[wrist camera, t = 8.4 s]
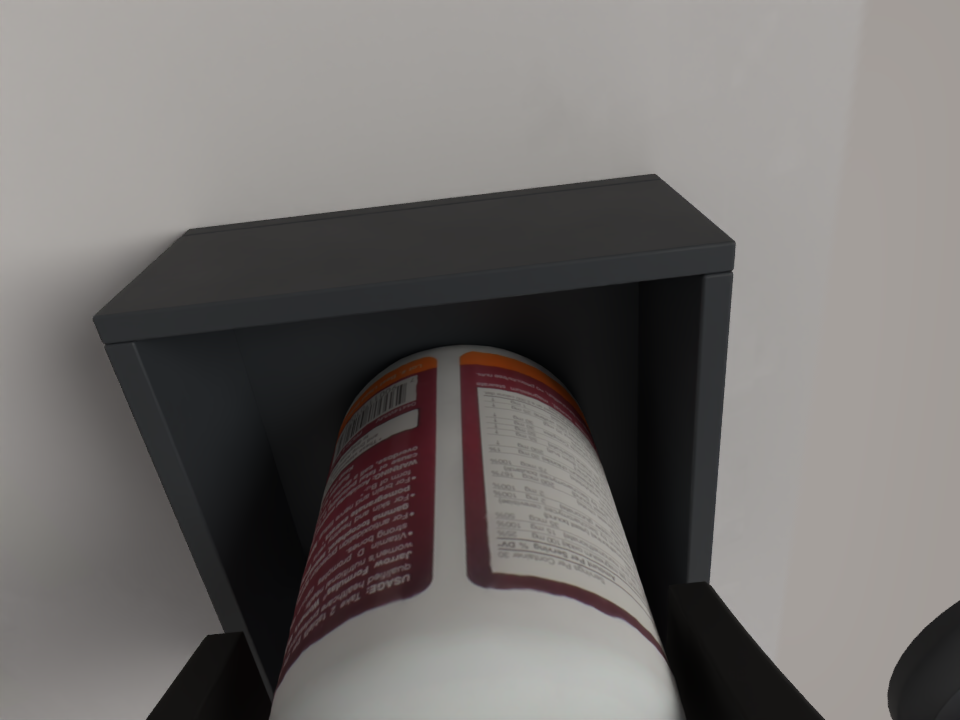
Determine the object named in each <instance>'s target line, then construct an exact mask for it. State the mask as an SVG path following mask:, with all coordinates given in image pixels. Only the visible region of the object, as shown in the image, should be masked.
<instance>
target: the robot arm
mask: <svg viewBox="0 0 960 720" xmlns="http://www.w3.org/2000/svg"><path fill="white" fill-rule="evenodd" d="M666 656H667V659H668V662H669V665H670V668H671V670H672V673H673V675H674V677H675V680H676V684H677V688H678V691H679V695H680V699H681V702H682V706H683V709H684V712H685V716H686V720H825V719H824V718H823V717H822V716H821V715H820V714H819V713H818V712H817V711H816V709H815V708H814V707H813V706H812V705H811V704H810V703H809V702H808V701H807V700H806V699H805V698H804V696H803V695H802V694H801V693H800V692H799V691H798V690H797V689H796V688H795V686H794V685H793V684H792V683H791V682H790V681H789V680H788V679H787V678H786V677H785V676H784V674H782V672H781V671H780V670H779V669H778V668H777V666H776V665H775V664H774V663H773V662H772V661H771V660H770V658H769V657H768V656H767V655H766V654H765V653H764V651H763V650H762V649H761V648H760V647H759V645H758V644H757V643H756V642H755V641H754V639H753V638H752V637H751V636H750V635H749V633H748V632H747V631H746V630H745V629H744V627H743V626H742V625H741V624H740V622H739V621H738V620H737V619H736V617H735V616H734V615H733V614H732V612H731V611H730V610H729V609H728V607H727V606H726V605H725V603H724V602H723V601H722V599H721V598H720V597H719V596H718V594H717V593H716V592H715V590H714V589H713V588H712V586H711V585H709V584H708V583H707V582H705V581H703V582H694V583H684V584H675V585H669V590H668V615H667V639H666ZM271 707H272V703H271V700H270V698H269V695H268V693H267V690H266V688H265V685H264V683H263V680H262V678H261V675H260V673H259V670H258V667H257V665H256V662H255V660H254V657H253V655H252V652H251V650H250V647H249V645H248V642H247V640H246V637H245V635H244V632H243V631H241V632H232V633H223V634H213V635H207V636H206V638H205V639H204V640H203V641H202V642H201V644H200V645H199V647H198V648H197V649H196V651H195V652H194V654H193V655H192V656H191V658H190V659H189V660H188V662H187V663H186V665H185V666H184V667H183V669H182V670H181V672H180V673H179V674H178V676H177V677H176V679H175V680H174V681H173V683H172V684H171V686H170V687H169V688H168V690H167V691H166V693H165V694H164V695H163V697H162V698H161V700H160V701H159V702H158V704H157V705H156V706H155V708H154V709H153V711H152V712H151V713H150V715H149V716H148V717H147V719H146V720H269V716H270V713H271Z"/></svg>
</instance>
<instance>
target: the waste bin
mask: <svg viewBox="0 0 960 720" xmlns="http://www.w3.org/2000/svg"><path fill="white" fill-rule="evenodd" d="M735 246H736V243H735V241H734V240H733V239H732V238H730V237H729V236H728V235H727V234H726V233H725V232H723V231H722V230H721V229H720V228H719V227H717V226H716V225H715V224H714V223H713V222H712V221H710V220H709V219H708V218H707V217H706V216H705V215H703V214H702V213H701V212H700V211H699V210H697V209H696V208H695V207H694V206H693V205H692V204H690V203H689V202H688V201H687V200H686V199H685V198H683V197H682V196H681V195H680V194H679V193H678V192H676V191H675V190H674V189H673V188H672V187H670V186H669V185H668V184H667V183H666V182H665V181H663V180H662V179H661V178H660V177H659V176H657V175H656V174H650V175H642V176H633V177H625V178H616V179H608V180H599V181H591V182H583V183H574V184H566V185H557V186H549V187H541V188H532V189H524V190H515V191H507V192H499V193H490V194H482V195H473V196H465V197H457V198H448V199H440V200H431V201H423V202H415V203H406V204H398V205H389V206H381V207H372V208H364V209H356V210H347V211H339V212H330V213H322V214H314V215H305V216H297V217H288V218H280V219H272V220H263V221H255V222H246V223H238V224H230V225H221V226H213V227H204V228H196V229H189V230H188V231H187V232H186V233H185V234H183V235H182V237H180V238H179V239H178V240H177V241H176V242H175V243H173V244H172V245H171V246H170V247H169V248H168V249H167V250H166V251H165V252H164V253H162V254H161V255H160V256H159V257H158V258H157V259H156V260H155V261H154V262H153V263H151V264H150V265H149V266H148V267H147V268H146V269H145V270H144V271H143V272H142V273H141V274H139V275H138V276H137V277H136V278H135V279H134V280H133V281H132V282H131V283H130V284H128V285H127V286H126V287H125V288H124V289H123V290H122V291H121V292H120V293H119V294H117V295H116V296H115V297H114V298H113V299H112V300H111V301H110V302H109V303H108V304H106V305H105V306H104V307H103V308H102V309H101V310H100V311H99V312H98V313H97V314H95V315H94V316H93V322H94V324H95V326H96V329H97V331H98V333H99V336H100V338H101V340H102V342H103V344H106V345H105V350H106V353H107V355H108V357H109V360H110V362H111V365H112V367H113V369H114V372H115V374H116V376H117V379H118V381H119V383H120V386H121V388H122V391H123V393H124V395H125V398H126V400H127V402H128V405H129V407H130V410H131V412H132V414H133V417H134V419H135V421H136V424H137V426H138V428H139V431H140V433H141V436H142V438H143V440H144V443H145V445H146V447H147V450H148V452H149V454H150V457H151V459H152V462H153V464H154V466H155V469H156V471H157V473H158V476H159V478H160V481H161V483H162V485H163V488H164V490H165V492H166V495H167V497H168V499H169V502H170V504H171V507H172V509H173V511H174V514H175V516H176V518H177V521H178V523H179V526H180V528H181V530H182V533H183V535H184V537H185V540H186V542H187V544H188V547H189V549H190V552H191V554H192V556H193V559H194V561H195V563H196V566H197V568H198V570H199V573H200V575H201V578H202V580H203V582H204V585H205V587H206V589H207V592H208V594H209V597H210V599H211V601H212V604H213V606H214V608H215V611H216V613H217V615H218V618H219V620H220V623H221V625H222V627H223V630H224V632H225V633H232V632H241V631H243V632H244V635H245V637H246V640H247V642H248V645H249V647H250V650H251V652H252V655H253V657H254V660H255V662H256V665H257V667H258V670H259V673H260V675H261V678H262V680H263V683H264V685H265V688H266V690H267V693H268V695H269V698H270V700H271V703H272V701H273V696H274V692H275V689H276V686H277V683H278V679H279V674H280V671H281V668H282V665H283V660H284V655H285V650H286V646H287V642H288V639H289V633H290V627H291V624H292V620H293V617H294V611H295V607H296V603H297V599H298V595H299V591H300V586H301V581H302V577H303V574H304V571H305V567H306V564H307V560H308V556H309V552H310V548H311V544H312V541H313V536H314V532H315V528H316V524H317V520H318V517H319V512H320V507H321V502H322V498H323V494H324V490H325V486H326V482H327V477H328V474H329V469H330V464H331V460H332V457H333V453H334V450H335V446H336V442H337V438H338V434H339V431H340V428H341V425H342V423H343V420H344V418H345V416H346V413H347V411H348V409H349V408H350V406H351V404H352V403H353V401H354V399H355V398H356V396H357V395H358V394H359V393H360V392H361V390H362V389H363V388H364V387H365V386H366V385H367V384H368V383H369V382H370V381H371V380H372V379H373V378H374V377H376V376H377V375H378V374H379V373H380V372H382V371H383V370H385V369H386V368H387V367H389V366H390V365H392V364H393V363H395V362H397V361H398V360H400V359H402V358H404V357H407V356H409V355H412V354H415V353H417V352H421V351H425V350H429V349H433V348H437V347H444V346H452V345H479V346H490V347H495V348H500V349H505V350H508V351H511V352H514V353H516V354H519V355H521V356H523V357H526V358H528V359H530V360H532V361H534V362H536V363H537V364H539V365H541V366H542V367H544V368H545V369H547V370H548V371H549V372H551V373H552V374H553V375H554V376H555V377H557V378H558V379H559V380H560V381H561V382H562V383H563V384H564V385H565V386H566V388H567V389H568V390H569V391H570V393H571V394H572V396H573V397H574V398H575V400H576V401H577V403H578V404H579V406H580V408H581V410H582V412H583V415H584V417H585V419H586V422H587V424H588V427H589V429H590V432H591V435H592V438H593V440H594V443H595V445H596V448H597V451H598V455H599V458H600V461H601V464H602V466H603V469H604V473H605V476H606V479H607V482H608V485H609V488H610V491H611V494H612V497H613V500H614V503H615V506H616V509H617V512H618V515H619V518H620V521H621V524H622V527H623V530H624V533H625V536H626V539H627V542H628V545H629V548H630V551H631V554H632V556H633V559H634V562H635V565H636V568H637V571H638V574H639V577H640V580H641V583H642V586H643V589H644V592H645V595H646V598H647V601H648V604H649V607H650V610H651V613H652V616H653V619H654V621H655V624H656V627H657V630H658V633H659V636H660V639H661V642H662V645H663V648H664V651H665V653H666V639H667V615H668V590H669V585H675V584H684V583H694V582H703V581H705V582H707V583H708V584H709V582H710V569H711V556H712V543H713V530H714V517H715V504H716V491H717V478H718V465H719V452H720V439H721V426H722V413H723V400H724V387H725V374H726V361H727V348H728V335H729V322H730V309H731V296H732V283H733V272H732V270H733V269H734V259H735Z"/></svg>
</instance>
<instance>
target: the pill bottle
mask: <svg viewBox="0 0 960 720" xmlns="http://www.w3.org/2000/svg"><path fill="white" fill-rule="evenodd" d="M269 720H686V716H685V712H684V709H683V706H682V702H681V699H680V695H679V691H678V688H677V684H676V680H675V677H674V675H673V673H672V670H671V668H670V665H669V662H668V659H667V656H666V653H665V651H664V648H663V645H662V642H661V639H660V636H659V633H658V630H657V627H656V624H655V621H654V619H653V616H652V613H651V610H650V607H649V604H648V601H647V598H646V595H645V592H644V589H643V586H642V583H641V580H640V577H639V574H638V571H637V568H636V565H635V562H634V559H633V556H632V554H631V551H630V548H629V545H628V542H627V539H626V536H625V533H624V530H623V527H622V524H621V521H620V518H619V515H618V512H617V509H616V506H615V503H614V500H613V497H612V494H611V491H610V488H609V485H608V482H607V479H606V476H605V473H604V469H603V466H602V464H601V461H600V458H599V455H598V451H597V448H596V445H595V443H594V440H593V438H592V435H591V432H590V429H589V427H588V424H587V422H586V419H585V417H584V415H583V412H582V410H581V408H580V406H579V404H578V403H577V401H576V400H575V398H574V397H573V396H572V394H571V393H570V391H569V390H568V389H567V388H566V386H565V385H564V384H563V383H562V382H561V381H560V380H559V379H558V378H557V377H555V376H554V375H553V374H552V373H551V372H549V371H548V370H547V369H545V368H544V367H542V366H541V365H539V364H537V363H536V362H534V361H532V360H530V359H528V358H526V357H523V356H521V355H519V354H516V353H514V352H511V351H508V350H505V349H500V348H495V347H490V346H479V345H452V346H444V347H437V348H433V349H429V350H425V351H421V352H417V353H415V354H412V355H409V356H407V357H404V358H402V359H400V360H398V361H397V362H395V363H393V364H392V365H390V366H389V367H387V368H386V369H385V370H383V371H382V372H380V373H379V374H378V375H377V376H376V377H374V378H373V379H372V380H371V381H370V382H369V383H368V384H367V385H366V386H365V387H364V388H363V389H362V390H361V392H360V393H359V394H358V395H357V396H356V398H355V399H354V401H353V403H352V404H351V406H350V408H349V409H348V411H347V413H346V416H345V418H344V420H343V423H342V425H341V428H340V431H339V434H338V438H337V442H336V446H335V450H334V453H333V457H332V460H331V464H330V469H329V474H328V477H327V482H326V486H325V490H324V494H323V498H322V502H321V507H320V512H319V517H318V520H317V524H316V528H315V532H314V536H313V541H312V544H311V548H310V552H309V556H308V560H307V564H306V567H305V571H304V574H303V577H302V581H301V586H300V591H299V595H298V599H297V603H296V607H295V611H294V617H293V620H292V624H291V627H290V633H289V639H288V642H287V646H286V650H285V655H284V660H283V665H282V668H281V671H280V674H279V679H278V683H277V686H276V689H275V692H274V696H273V701H272V707H271V713H270V716H269Z"/></svg>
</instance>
